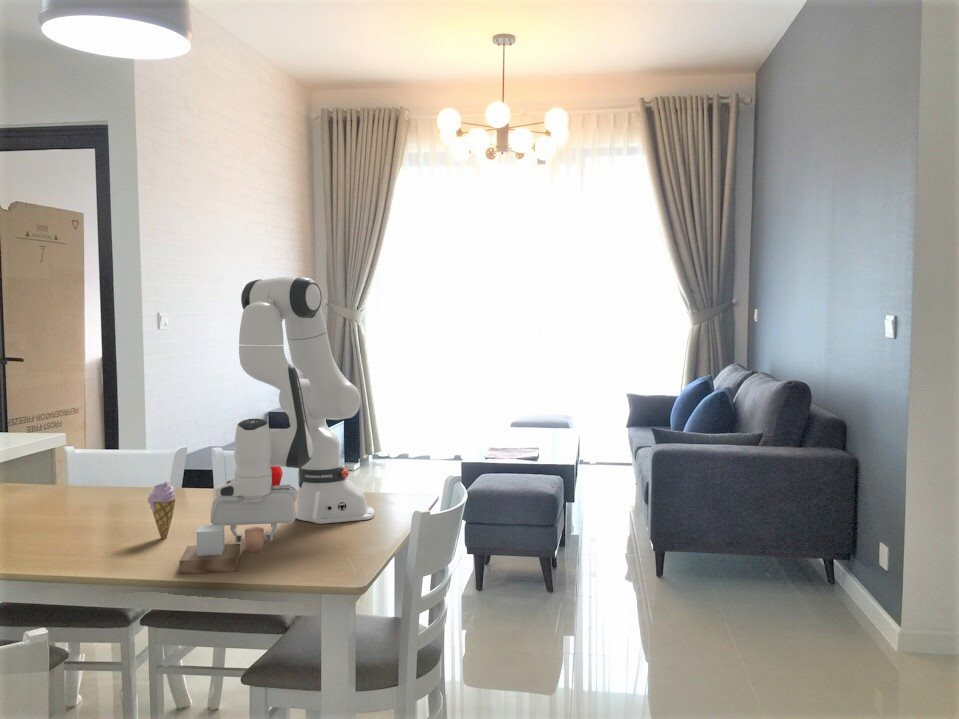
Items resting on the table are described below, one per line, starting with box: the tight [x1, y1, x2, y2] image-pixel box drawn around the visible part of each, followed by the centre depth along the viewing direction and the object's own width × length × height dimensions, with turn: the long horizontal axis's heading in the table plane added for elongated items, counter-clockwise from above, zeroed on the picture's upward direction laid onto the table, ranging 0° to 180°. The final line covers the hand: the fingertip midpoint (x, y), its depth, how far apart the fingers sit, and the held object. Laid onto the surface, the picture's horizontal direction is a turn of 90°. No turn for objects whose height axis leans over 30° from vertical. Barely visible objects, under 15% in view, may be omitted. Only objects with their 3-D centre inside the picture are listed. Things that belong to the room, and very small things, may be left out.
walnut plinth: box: [179, 543, 241, 575], centre depth 199 cm, size 12×12×3 cm
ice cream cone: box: [147, 480, 176, 540], centre depth 220 cm, size 7×6×15 cm
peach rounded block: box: [244, 526, 265, 553], centre depth 211 cm, size 5×5×5 cm
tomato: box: [270, 467, 283, 485], centre depth 272 cm, size 13×13×13 cm
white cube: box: [196, 524, 226, 556], centre depth 198 cm, size 6×6×6 cm
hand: (253, 541), depth 211 cm, fingers open, 6 cm apart
